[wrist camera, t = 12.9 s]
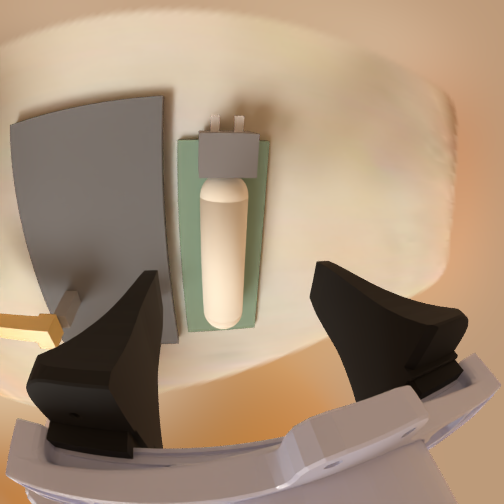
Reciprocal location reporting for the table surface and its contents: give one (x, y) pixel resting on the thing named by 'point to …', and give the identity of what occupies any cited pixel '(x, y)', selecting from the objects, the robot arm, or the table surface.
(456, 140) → the table surface
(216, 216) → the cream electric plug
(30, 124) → the mat
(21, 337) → the yellow bar
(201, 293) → the felt pad
